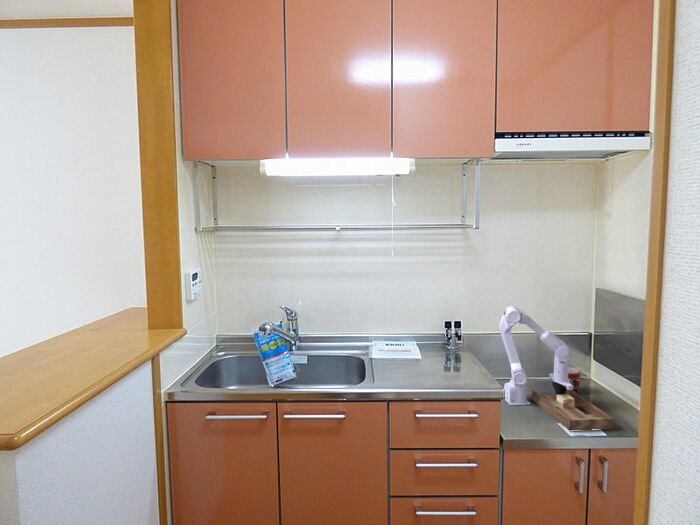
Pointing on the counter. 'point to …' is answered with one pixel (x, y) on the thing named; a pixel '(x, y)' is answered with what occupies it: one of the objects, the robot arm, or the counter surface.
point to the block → (565, 401)
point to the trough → (574, 412)
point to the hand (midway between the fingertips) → (560, 399)
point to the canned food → (574, 378)
